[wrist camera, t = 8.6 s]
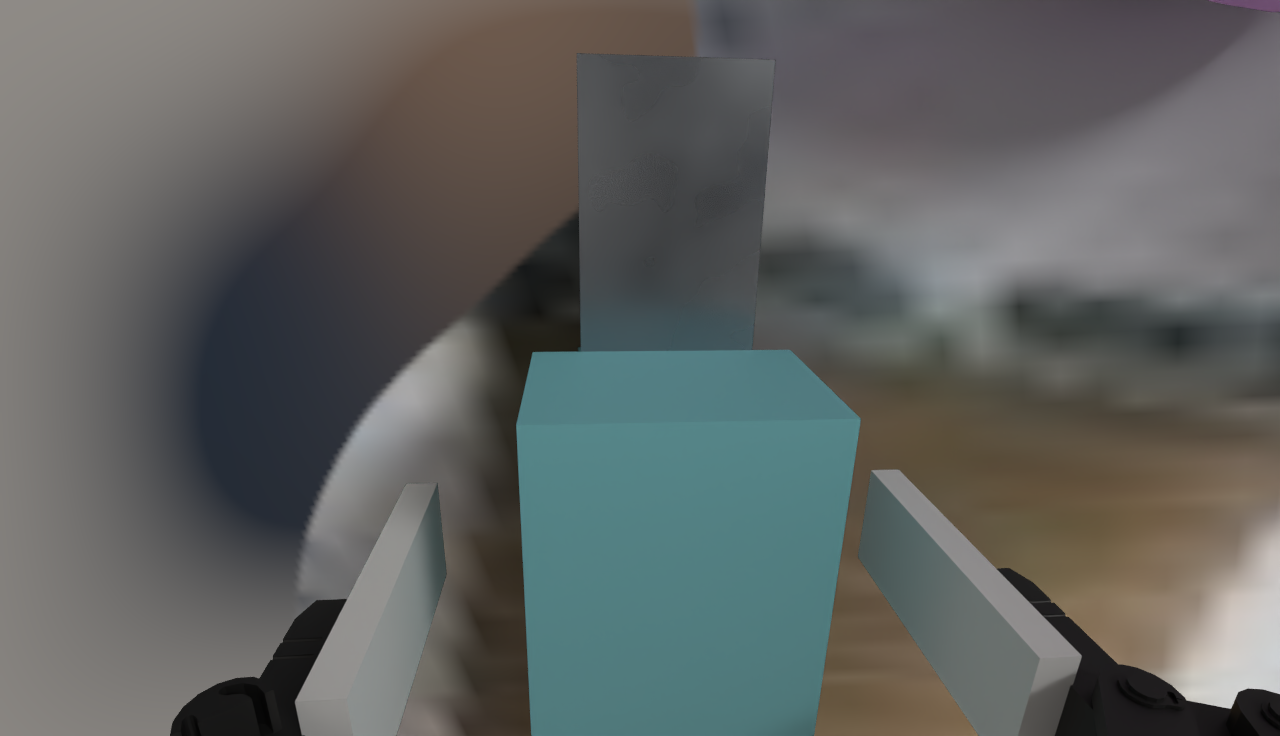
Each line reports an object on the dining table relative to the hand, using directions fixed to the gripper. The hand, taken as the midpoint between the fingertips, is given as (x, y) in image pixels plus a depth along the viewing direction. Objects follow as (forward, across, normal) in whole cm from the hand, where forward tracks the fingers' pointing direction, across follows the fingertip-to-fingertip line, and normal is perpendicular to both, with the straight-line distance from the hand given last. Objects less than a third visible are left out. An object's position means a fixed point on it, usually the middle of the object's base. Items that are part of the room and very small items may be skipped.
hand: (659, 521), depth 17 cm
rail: (+4, 0, 0) cm, 4 cm away
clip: (+3, 0, 0) cm, 3 cm away
